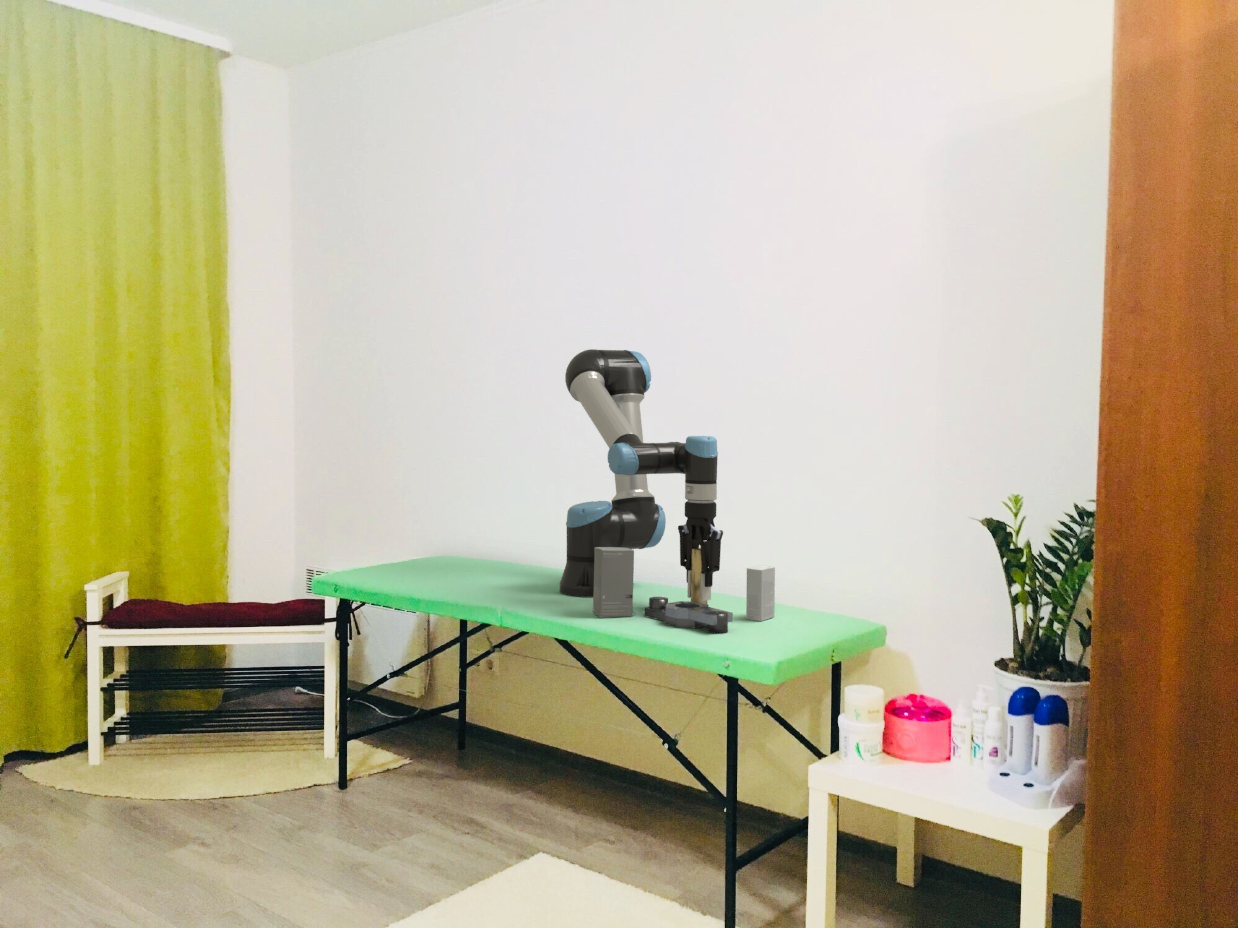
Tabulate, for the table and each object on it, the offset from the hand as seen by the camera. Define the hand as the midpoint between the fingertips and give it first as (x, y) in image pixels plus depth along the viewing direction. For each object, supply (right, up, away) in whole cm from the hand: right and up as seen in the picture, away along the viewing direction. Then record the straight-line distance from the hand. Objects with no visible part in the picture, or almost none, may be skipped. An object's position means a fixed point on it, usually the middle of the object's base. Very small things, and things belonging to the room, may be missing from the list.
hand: (699, 598), depth 244 cm
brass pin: (0, -3, 0) cm, 3 cm away
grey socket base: (-4, -4, -13) cm, 14 cm away
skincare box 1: (-21, -3, -4) cm, 21 cm away
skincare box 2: (+14, -4, -7) cm, 16 cm away
